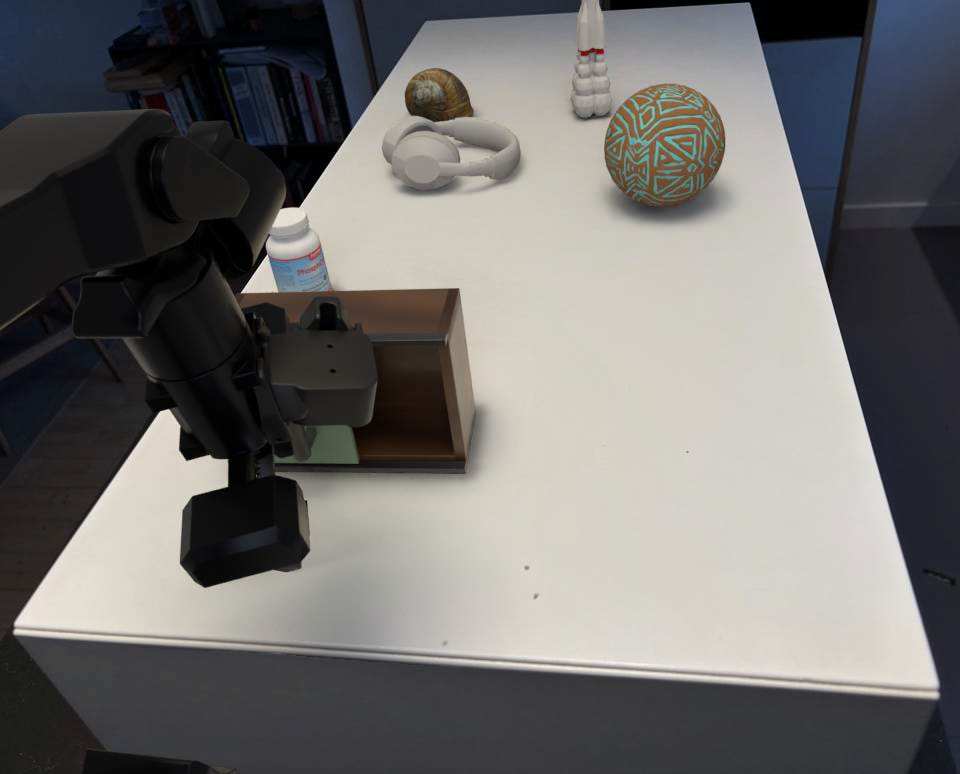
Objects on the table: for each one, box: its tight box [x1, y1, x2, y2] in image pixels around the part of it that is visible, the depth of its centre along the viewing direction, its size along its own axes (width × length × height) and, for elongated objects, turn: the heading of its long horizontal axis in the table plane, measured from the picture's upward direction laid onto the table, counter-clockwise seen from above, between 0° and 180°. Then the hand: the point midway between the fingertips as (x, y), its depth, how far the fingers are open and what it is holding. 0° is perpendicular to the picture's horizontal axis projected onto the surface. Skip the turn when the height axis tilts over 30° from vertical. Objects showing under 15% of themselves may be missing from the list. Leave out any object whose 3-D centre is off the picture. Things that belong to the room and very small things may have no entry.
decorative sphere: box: [603, 83, 726, 208], centre depth 103 cm, size 15×15×15 cm
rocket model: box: [570, 0, 613, 119], centre depth 125 cm, size 7×7×30 cm
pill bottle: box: [265, 207, 333, 292], centre depth 93 cm, size 6×6×11 cm
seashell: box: [404, 67, 474, 123], centre depth 137 cm, size 11×9×8 cm
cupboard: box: [234, 287, 477, 474], centre depth 71 cm, size 8×20×14 cm, turn 84°
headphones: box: [381, 115, 522, 191], centre depth 120 cm, size 18×8×20 cm
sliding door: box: [274, 422, 360, 464], centre depth 68 cm, size 4×9×13 cm, turn 83°
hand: (290, 508), depth 53 cm, fingers open, 9 cm apart
